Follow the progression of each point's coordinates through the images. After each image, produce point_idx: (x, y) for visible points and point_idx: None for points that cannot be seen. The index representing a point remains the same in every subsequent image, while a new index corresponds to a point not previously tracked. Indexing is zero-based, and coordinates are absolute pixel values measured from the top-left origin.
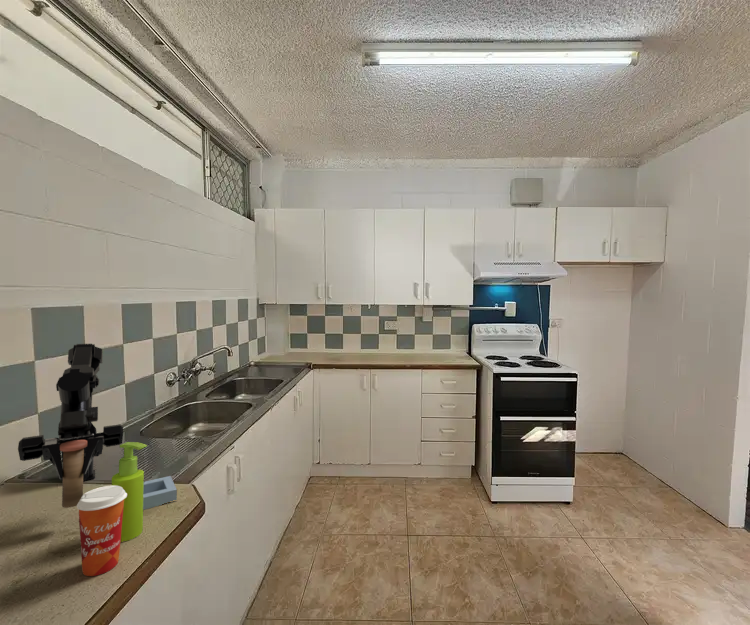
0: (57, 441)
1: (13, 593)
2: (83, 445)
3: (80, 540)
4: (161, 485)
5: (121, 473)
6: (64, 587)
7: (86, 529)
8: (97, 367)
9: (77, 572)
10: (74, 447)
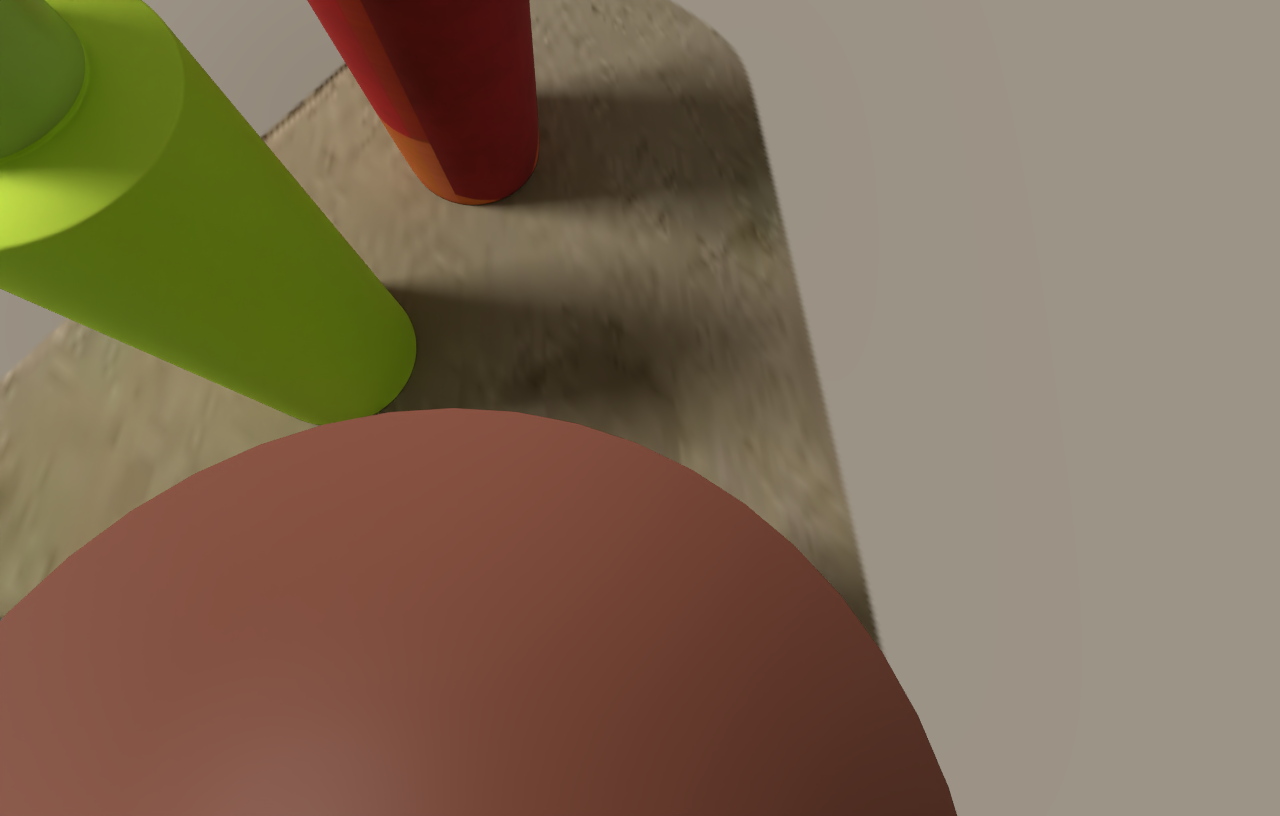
0: None
1: (751, 164)
2: (122, 556)
3: (530, 20)
4: None
5: (43, 2)
6: (596, 96)
7: None
8: None
9: (556, 162)
10: (431, 419)
